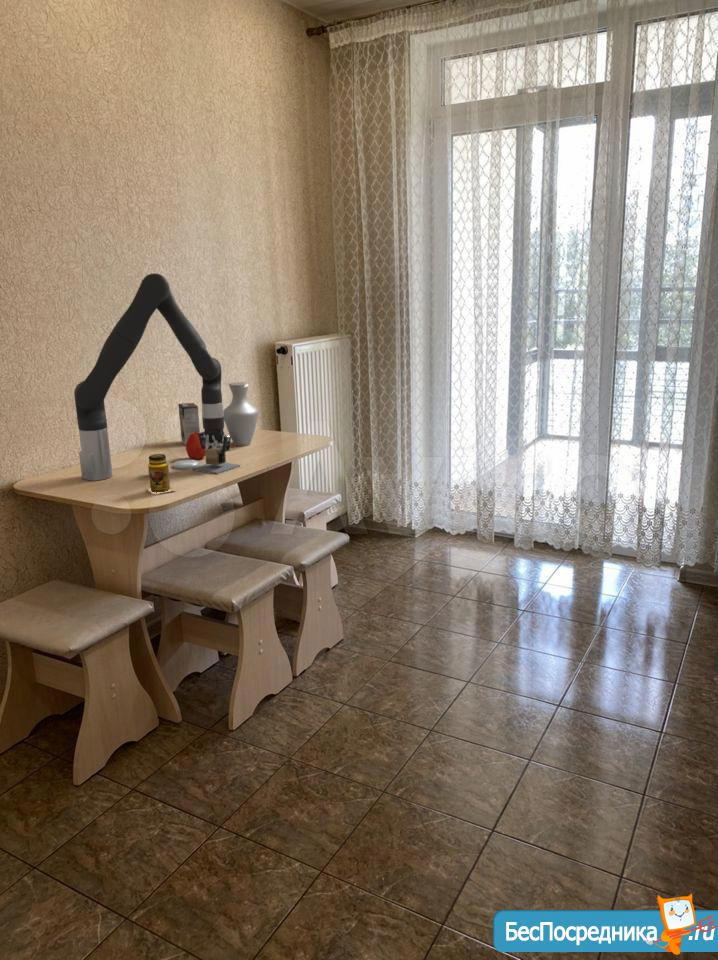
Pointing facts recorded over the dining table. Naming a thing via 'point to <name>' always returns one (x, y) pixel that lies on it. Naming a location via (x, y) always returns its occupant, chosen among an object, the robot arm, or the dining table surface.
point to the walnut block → (213, 456)
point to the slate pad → (216, 467)
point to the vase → (240, 415)
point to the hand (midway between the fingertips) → (216, 461)
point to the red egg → (194, 447)
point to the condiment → (158, 473)
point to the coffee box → (188, 420)
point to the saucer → (186, 464)
